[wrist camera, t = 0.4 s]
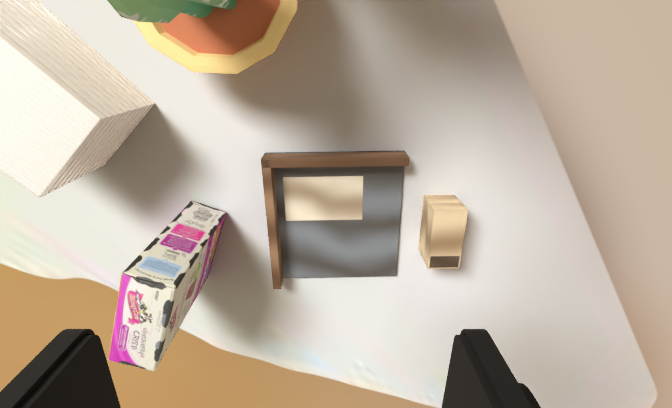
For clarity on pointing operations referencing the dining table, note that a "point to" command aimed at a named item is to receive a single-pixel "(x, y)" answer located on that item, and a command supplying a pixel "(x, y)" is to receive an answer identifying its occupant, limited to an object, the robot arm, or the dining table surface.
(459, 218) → the maple block
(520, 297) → the dining table surface
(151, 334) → the candy bar box
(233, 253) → the dining table surface
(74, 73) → the stack of papers
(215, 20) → the potted cactus
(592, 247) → the dining table surface
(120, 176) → the dining table surface
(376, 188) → the corner arena
